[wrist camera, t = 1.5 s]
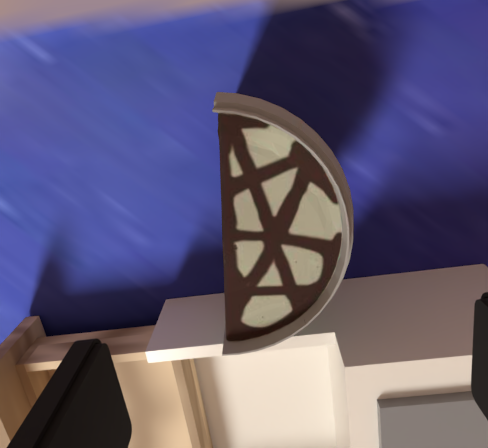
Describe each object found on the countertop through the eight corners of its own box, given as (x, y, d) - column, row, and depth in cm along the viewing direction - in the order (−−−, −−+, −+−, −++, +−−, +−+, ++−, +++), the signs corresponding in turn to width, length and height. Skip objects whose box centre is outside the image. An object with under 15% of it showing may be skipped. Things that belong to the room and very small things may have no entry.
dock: (209, 485, 37) (193, 621, 28) (165, 299, 31) (127, 396, 22) (473, 465, 35) (547, 603, 26) (483, 263, 29) (585, 352, 20)
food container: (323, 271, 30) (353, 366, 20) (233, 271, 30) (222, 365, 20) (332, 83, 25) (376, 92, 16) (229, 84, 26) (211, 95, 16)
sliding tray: (64, 499, 38) (25, 587, 31) (-7, 320, 31) (-73, 384, 25) (225, 487, 36) (218, 575, 30) (184, 299, 30) (164, 360, 24)
